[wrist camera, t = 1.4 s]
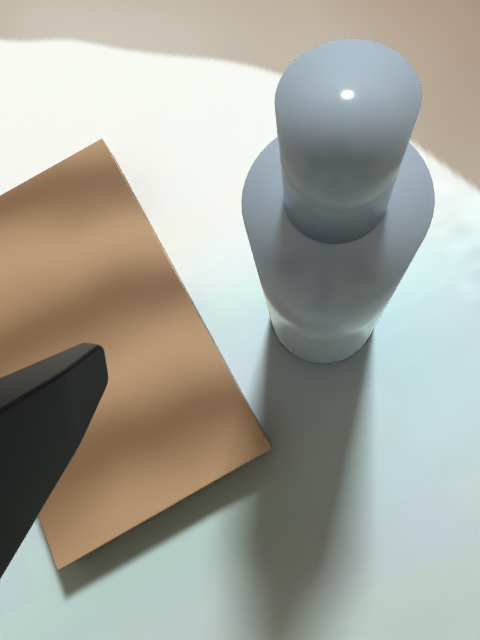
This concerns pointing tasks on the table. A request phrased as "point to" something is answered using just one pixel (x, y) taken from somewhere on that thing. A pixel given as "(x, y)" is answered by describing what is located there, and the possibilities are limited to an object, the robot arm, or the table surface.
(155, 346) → the walnut board
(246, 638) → the table surface
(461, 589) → the table surface
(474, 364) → the table surface
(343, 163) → the slate-blue bottle
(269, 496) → the table surface
